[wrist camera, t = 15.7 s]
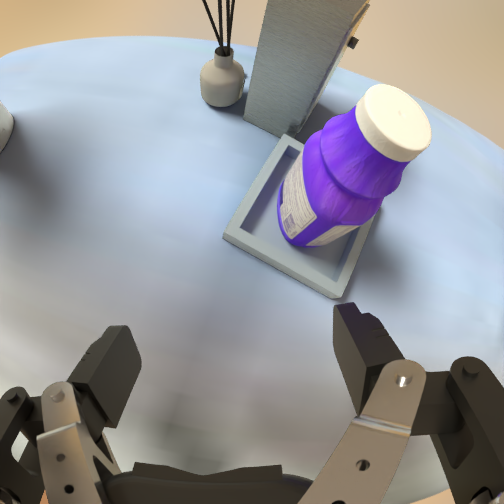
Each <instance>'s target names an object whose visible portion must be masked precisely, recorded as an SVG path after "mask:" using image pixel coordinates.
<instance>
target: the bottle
mask: <svg viewBox="0 0 504 504" xmlns="http://www.w3.org/2000/svg"><path fill="white" fill-rule="evenodd" d="M431 137H432V134H431V127H430V124H429V121H428V119H427V117H426V115H425V113H424V112H423V110H422V109H421V107H420V106H419V105H418V104H417V103H416V102H415V101H414V100H413V99H412V98H411V97H410V96H409V95H408V94H406V93H405V92H403V91H402V90H400V89H398V88H396V87H393V86H389V85H384V84H379V85H375V86H373V87H371V88H369V89H368V91H367V92H366V93H365V95H364V96H363V97H362V98H361V99H360V100H359V102H358V103H357V105H356V106H355V107H354V108H353V109H352V110H351V111H349V112H348V113H346V114H340V115H337V116H335V117H332V118H331V119H330V120H328V121H327V123H326V124H325V126H324V128H323V129H322V130H319V131H317V132H315V133H314V134H312V135H311V136H310V137H309V139H308V140H307V142H306V143H305V145H304V147H303V149H302V151H301V152H300V154H299V156H298V158H297V159H296V161H295V163H294V164H293V166H292V168H291V169H290V171H289V173H288V174H287V176H286V178H285V179H284V181H283V182H282V183H281V185H280V188H279V192H278V198H277V216H278V223H279V227H280V230H281V232H282V235H283V236H284V238H285V239H286V240H287V241H288V242H289V243H291V244H293V245H296V246H301V247H304V248H315V247H318V246H322V245H326V244H328V243H330V242H331V241H333V240H335V239H337V238H339V237H341V236H343V235H344V234H346V233H348V232H350V231H352V230H354V229H355V228H357V227H359V226H361V225H363V224H364V223H366V222H367V221H368V220H370V219H371V218H372V217H373V216H374V215H375V214H376V213H377V211H378V210H379V208H380V206H381V204H382V201H383V199H384V197H385V196H387V195H389V194H391V193H392V192H393V191H394V190H396V188H397V187H398V185H399V184H400V181H401V177H402V172H403V170H404V169H405V167H406V166H407V164H408V163H409V162H410V161H411V160H413V159H415V158H416V157H417V156H418V155H419V154H420V153H421V152H423V151H424V150H425V149H426V148H427V147H428V146H429V145H430V142H431Z"/></svg>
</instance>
